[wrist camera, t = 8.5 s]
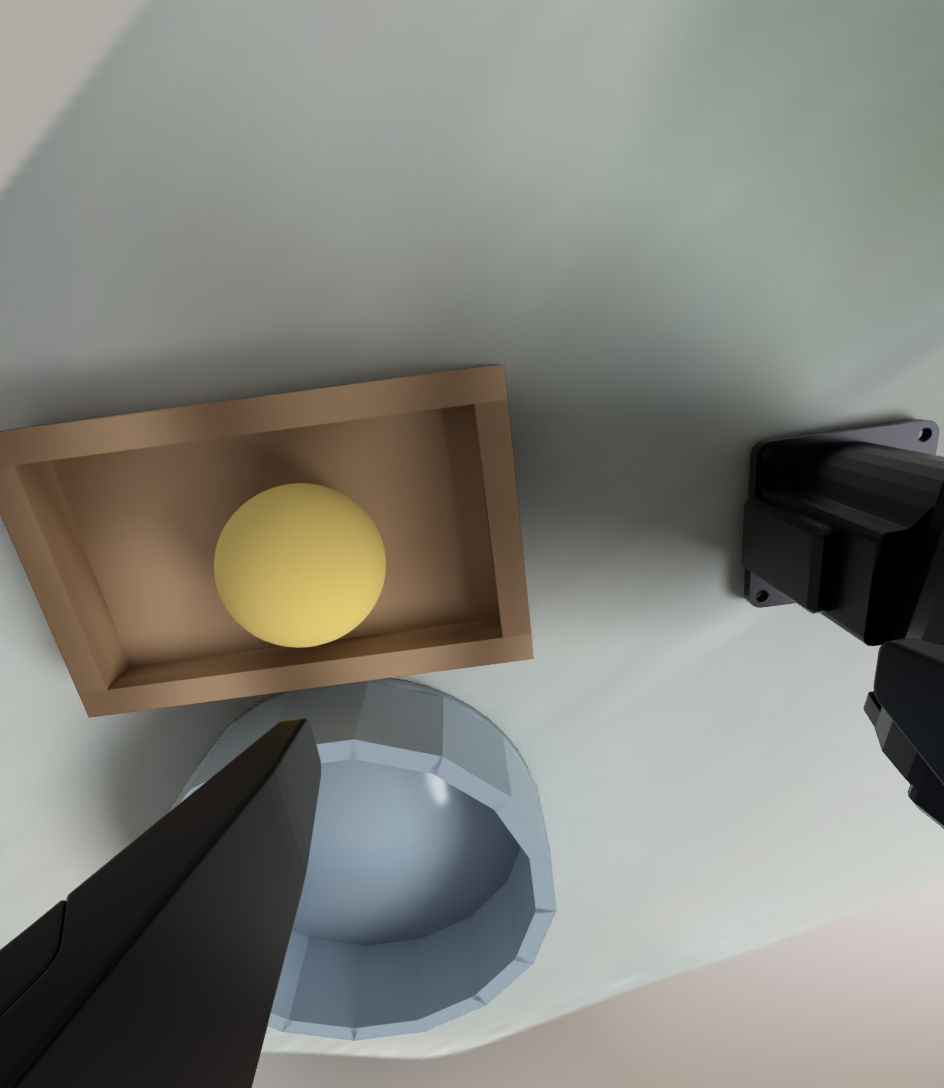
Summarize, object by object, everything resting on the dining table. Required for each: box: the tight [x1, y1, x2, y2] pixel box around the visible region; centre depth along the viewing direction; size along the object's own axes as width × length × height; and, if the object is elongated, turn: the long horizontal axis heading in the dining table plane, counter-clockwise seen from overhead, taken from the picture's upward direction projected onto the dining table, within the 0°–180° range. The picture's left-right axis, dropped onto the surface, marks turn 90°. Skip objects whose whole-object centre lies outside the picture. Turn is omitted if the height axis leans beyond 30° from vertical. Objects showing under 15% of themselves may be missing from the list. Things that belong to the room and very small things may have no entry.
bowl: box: [168, 678, 556, 1041], centre depth 22 cm, size 16×16×4 cm
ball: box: [214, 483, 386, 648], centre depth 16 cm, size 5×5×5 cm
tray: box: [0, 364, 534, 717], centre depth 18 cm, size 16×10×2 cm, turn 97°
